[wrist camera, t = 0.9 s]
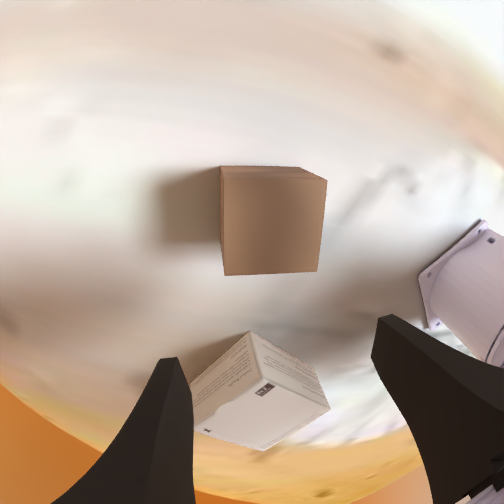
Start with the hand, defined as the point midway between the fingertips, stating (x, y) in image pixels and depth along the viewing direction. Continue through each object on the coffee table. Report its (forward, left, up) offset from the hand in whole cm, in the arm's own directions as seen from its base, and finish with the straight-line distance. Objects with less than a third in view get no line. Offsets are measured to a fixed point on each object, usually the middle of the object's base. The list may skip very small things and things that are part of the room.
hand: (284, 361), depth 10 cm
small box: (+6, +10, -10) cm, 15 cm away
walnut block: (-2, -2, -10) cm, 10 cm away
